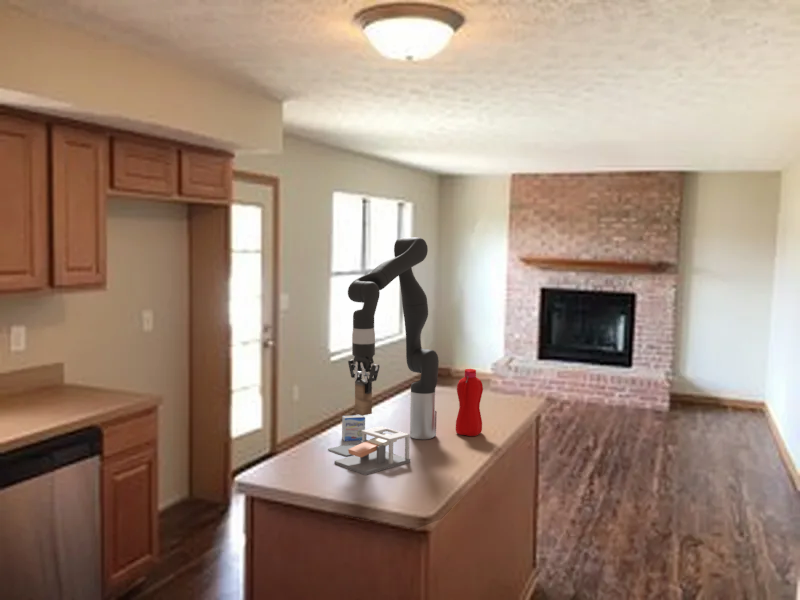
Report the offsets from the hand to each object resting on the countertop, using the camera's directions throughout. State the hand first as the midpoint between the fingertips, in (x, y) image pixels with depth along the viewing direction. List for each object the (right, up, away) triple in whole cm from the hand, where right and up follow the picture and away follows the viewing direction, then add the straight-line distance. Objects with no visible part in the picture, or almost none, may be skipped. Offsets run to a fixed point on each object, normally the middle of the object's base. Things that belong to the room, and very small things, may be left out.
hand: (363, 392), depth 238 cm
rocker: (+3, -17, -3) cm, 18 cm away
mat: (-6, -22, +10) cm, 25 cm away
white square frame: (+3, -23, -3) cm, 23 cm away
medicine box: (-5, -21, +25) cm, 33 cm away
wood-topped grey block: (0, -7, +1) cm, 7 cm away
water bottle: (+38, -21, +35) cm, 56 cm away
